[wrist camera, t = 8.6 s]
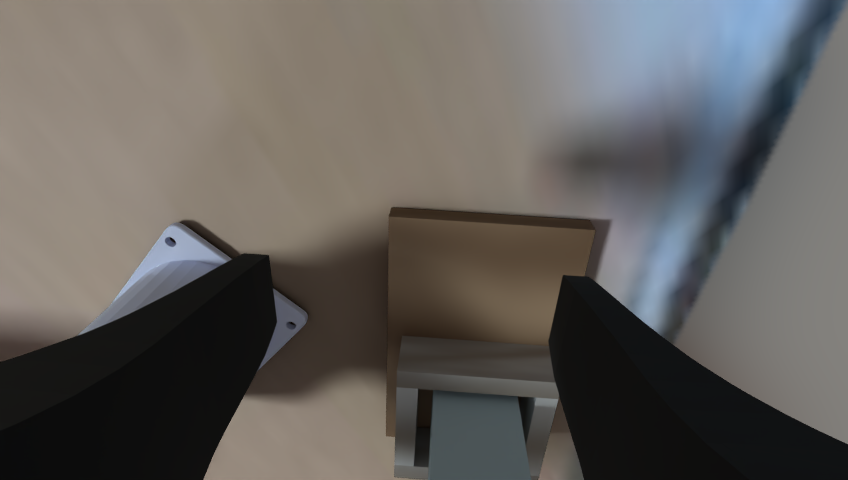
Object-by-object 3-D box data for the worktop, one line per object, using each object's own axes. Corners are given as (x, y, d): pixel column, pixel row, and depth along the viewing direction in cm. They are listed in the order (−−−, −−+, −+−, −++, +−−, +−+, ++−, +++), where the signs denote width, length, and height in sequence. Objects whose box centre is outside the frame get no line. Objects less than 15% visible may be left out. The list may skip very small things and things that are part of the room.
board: (391, 207, 21) (380, 243, 18) (589, 220, 21) (613, 258, 18) (388, 422, 28) (380, 476, 25) (539, 434, 28) (550, 489, 24)
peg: (503, 420, 26) (519, 554, 20) (431, 415, 26) (424, 546, 20) (512, 366, 24) (533, 495, 18) (435, 360, 24) (429, 487, 18)
